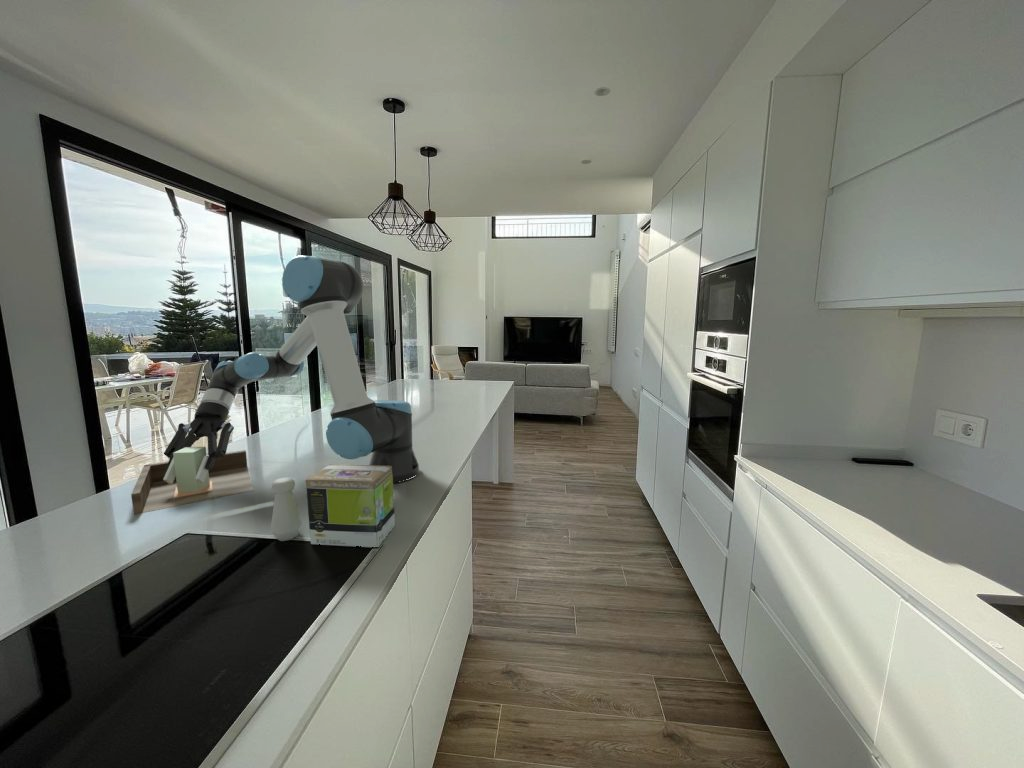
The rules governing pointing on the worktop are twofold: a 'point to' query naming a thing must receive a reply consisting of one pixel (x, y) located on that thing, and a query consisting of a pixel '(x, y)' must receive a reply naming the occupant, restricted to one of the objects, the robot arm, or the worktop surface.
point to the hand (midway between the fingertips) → (183, 481)
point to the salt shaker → (285, 510)
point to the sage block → (189, 469)
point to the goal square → (206, 489)
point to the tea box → (350, 505)
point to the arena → (159, 494)
